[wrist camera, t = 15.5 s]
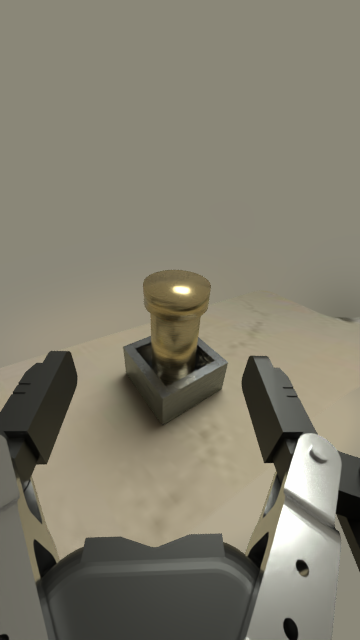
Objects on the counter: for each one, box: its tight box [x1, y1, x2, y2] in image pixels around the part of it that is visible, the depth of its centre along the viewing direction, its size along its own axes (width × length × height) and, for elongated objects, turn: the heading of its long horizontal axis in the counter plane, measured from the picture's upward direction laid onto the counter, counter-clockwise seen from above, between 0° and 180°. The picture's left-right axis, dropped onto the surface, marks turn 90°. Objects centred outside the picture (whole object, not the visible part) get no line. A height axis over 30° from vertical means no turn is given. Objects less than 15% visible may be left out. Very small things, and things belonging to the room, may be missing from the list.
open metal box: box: [123, 336, 228, 425], centre depth 29 cm, size 9×9×4 cm
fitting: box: [143, 270, 211, 386], centre depth 26 cm, size 6×6×13 cm
